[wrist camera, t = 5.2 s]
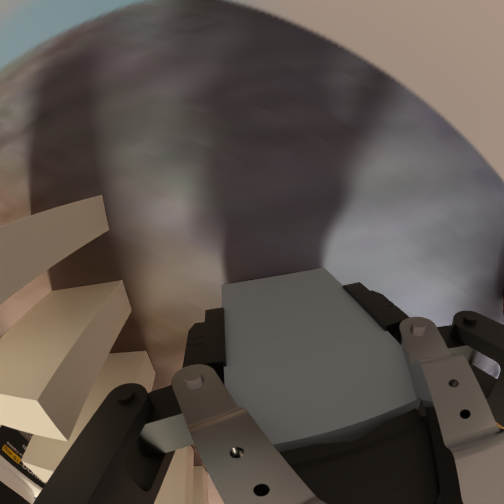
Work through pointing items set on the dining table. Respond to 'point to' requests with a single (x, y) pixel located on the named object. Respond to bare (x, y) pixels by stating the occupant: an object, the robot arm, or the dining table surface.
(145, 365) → the domino
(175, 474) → the domino
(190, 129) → the dining table surface
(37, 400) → the domino
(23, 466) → the medicine bottle
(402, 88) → the dining table surface
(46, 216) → the domino
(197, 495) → the domino
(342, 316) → the domino
